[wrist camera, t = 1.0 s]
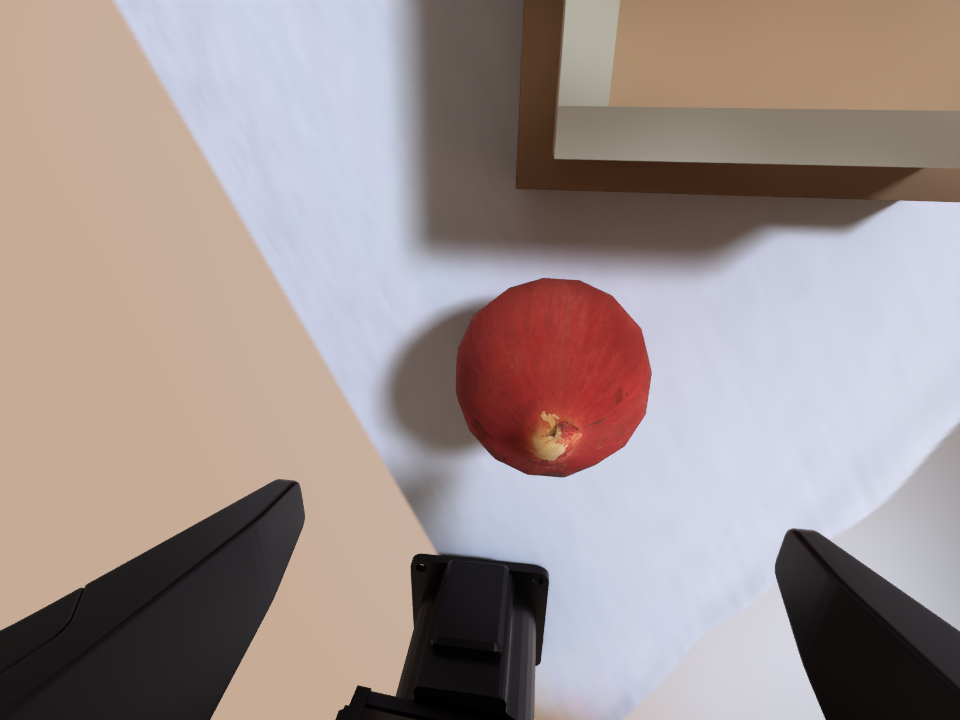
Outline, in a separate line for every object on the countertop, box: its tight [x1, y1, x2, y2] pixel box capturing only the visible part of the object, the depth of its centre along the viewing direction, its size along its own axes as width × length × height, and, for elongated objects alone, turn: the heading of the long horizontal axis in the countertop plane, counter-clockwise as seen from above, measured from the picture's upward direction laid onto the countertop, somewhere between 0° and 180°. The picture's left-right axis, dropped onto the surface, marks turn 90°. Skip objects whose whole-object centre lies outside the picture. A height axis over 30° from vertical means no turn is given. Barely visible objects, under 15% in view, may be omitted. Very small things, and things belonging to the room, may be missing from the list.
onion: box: [456, 278, 652, 477], centre depth 15 cm, size 6×6×8 cm
